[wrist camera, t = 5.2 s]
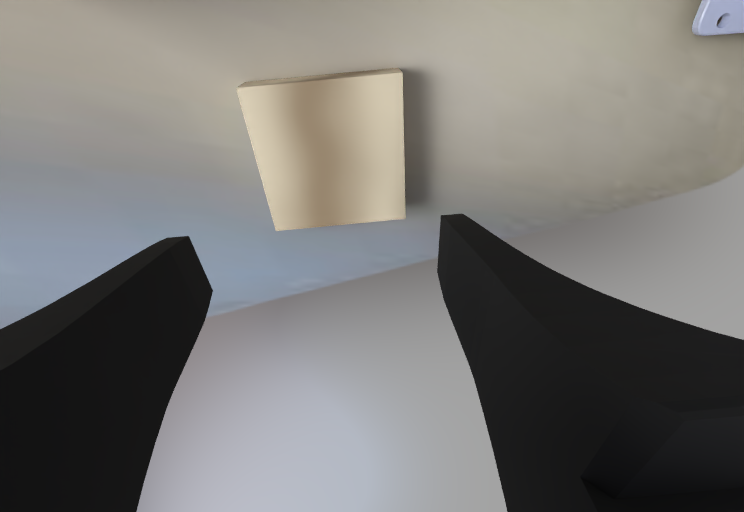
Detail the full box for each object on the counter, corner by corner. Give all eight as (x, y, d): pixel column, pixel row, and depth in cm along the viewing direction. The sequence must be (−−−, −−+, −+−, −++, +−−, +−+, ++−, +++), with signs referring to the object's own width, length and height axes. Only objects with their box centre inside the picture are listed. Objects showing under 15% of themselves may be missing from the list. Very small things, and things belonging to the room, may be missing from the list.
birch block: (396, 66, 16) (402, 72, 14) (400, 202, 20) (405, 218, 18) (247, 80, 16) (236, 87, 14) (281, 213, 20) (275, 230, 18)
